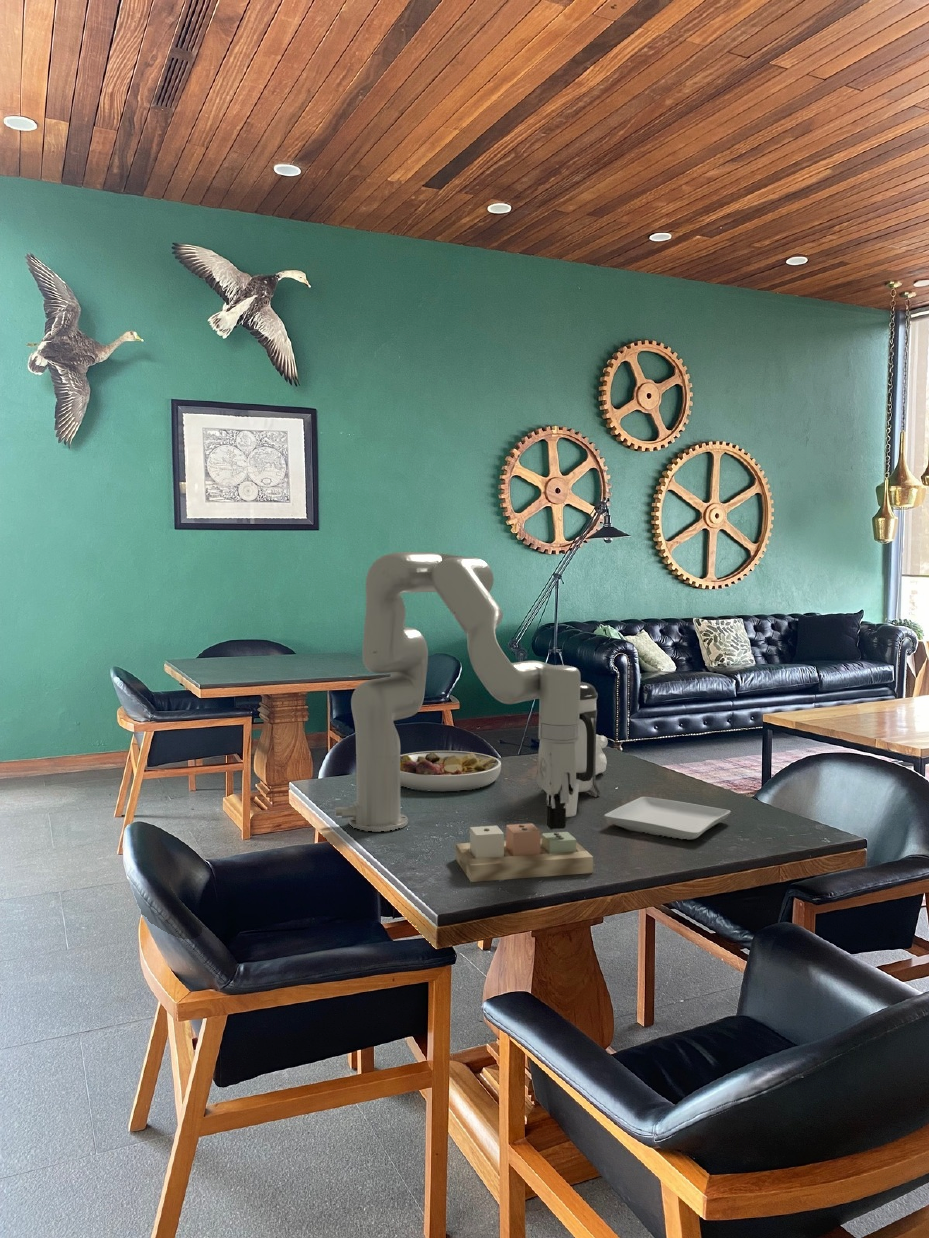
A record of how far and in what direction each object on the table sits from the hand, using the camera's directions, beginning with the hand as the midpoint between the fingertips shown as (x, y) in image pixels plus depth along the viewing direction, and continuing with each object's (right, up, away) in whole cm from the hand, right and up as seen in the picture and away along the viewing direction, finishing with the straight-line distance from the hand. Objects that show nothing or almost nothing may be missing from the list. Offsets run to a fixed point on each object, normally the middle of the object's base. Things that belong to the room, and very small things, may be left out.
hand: (555, 827), depth 176 cm
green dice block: (0, -7, 0) cm, 7 cm away
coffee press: (+10, -4, +52) cm, 53 cm away
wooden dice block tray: (-6, -7, -1) cm, 9 cm away
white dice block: (-13, -5, -3) cm, 14 cm away
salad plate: (+27, -6, +25) cm, 37 cm away
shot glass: (+5, -5, +35) cm, 36 cm away
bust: (+18, -2, +75) cm, 77 cm away
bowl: (-23, -3, +67) cm, 71 cm away
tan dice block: (-6, -5, -2) cm, 8 cm away
